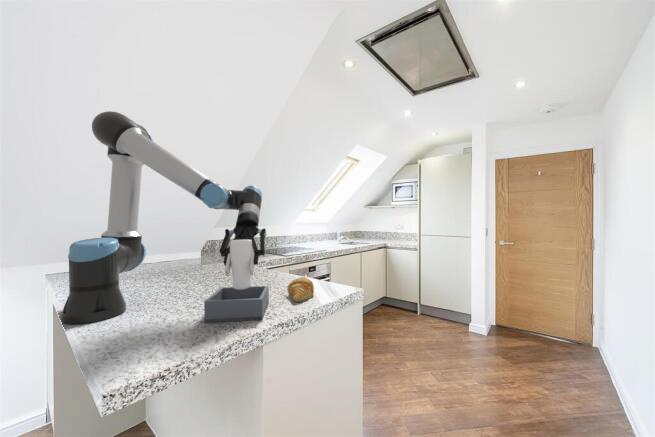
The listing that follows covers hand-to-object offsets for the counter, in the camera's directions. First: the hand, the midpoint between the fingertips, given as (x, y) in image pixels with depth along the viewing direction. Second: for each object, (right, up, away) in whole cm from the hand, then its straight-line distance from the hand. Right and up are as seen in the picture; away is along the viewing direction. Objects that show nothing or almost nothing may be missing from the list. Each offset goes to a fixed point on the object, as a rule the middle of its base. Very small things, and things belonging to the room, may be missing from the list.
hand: (239, 272), depth 82 cm
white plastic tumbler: (0, -6, +3) cm, 7 cm away
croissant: (+16, -13, +22) cm, 30 cm away
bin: (-1, -13, +3) cm, 13 cm away
